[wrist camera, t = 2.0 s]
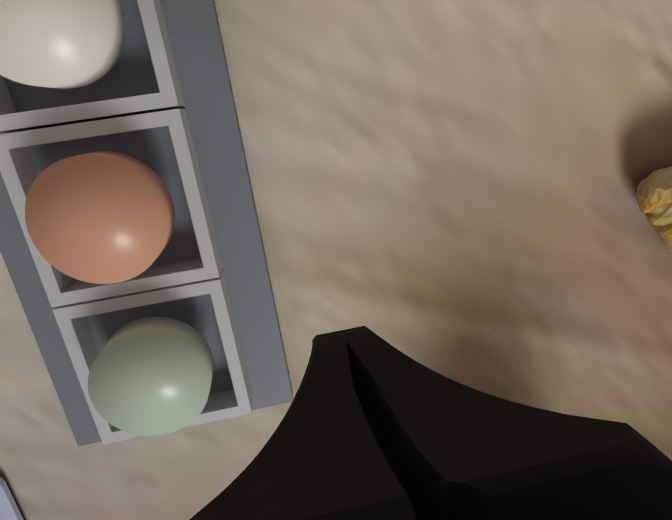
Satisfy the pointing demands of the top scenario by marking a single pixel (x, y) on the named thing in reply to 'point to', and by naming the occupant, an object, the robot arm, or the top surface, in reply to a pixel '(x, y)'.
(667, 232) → the croissant
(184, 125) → the panel
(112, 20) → the ivory button
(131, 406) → the sage button
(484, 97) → the top surface
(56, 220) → the terracotta button
